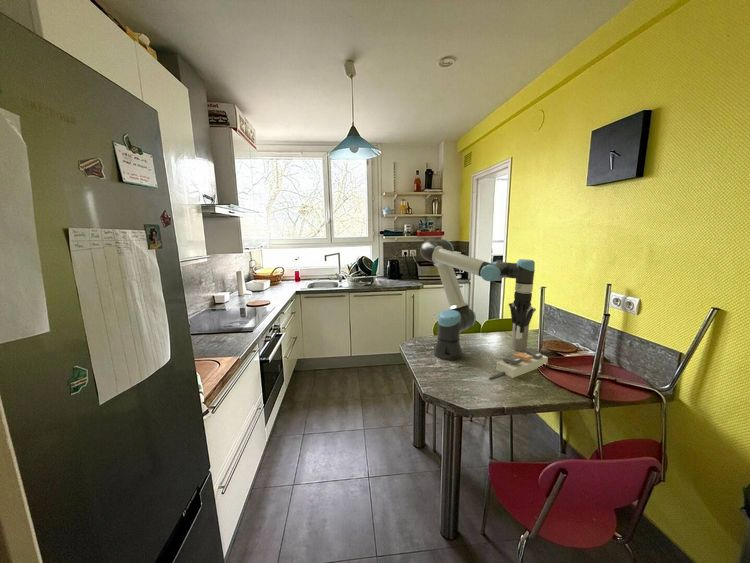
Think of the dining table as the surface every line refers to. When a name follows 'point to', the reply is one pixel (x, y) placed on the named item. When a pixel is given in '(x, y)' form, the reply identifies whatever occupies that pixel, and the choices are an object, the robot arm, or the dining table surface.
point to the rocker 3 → (533, 353)
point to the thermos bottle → (520, 343)
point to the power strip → (519, 367)
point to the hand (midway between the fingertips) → (518, 338)
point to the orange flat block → (523, 356)
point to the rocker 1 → (512, 360)
